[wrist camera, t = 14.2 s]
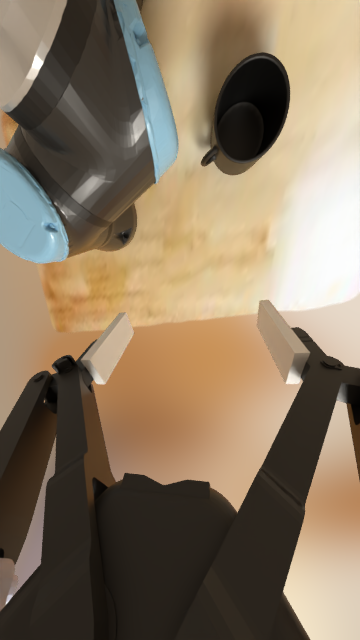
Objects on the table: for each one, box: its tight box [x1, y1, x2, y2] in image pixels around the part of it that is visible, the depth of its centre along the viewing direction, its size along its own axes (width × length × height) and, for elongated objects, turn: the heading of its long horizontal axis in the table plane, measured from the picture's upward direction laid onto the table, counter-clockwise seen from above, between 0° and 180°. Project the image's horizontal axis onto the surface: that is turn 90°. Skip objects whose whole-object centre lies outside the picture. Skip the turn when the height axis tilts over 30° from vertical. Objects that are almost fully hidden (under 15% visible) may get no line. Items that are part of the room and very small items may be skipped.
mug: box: [201, 53, 290, 175], centre depth 25 cm, size 9×12×9 cm
